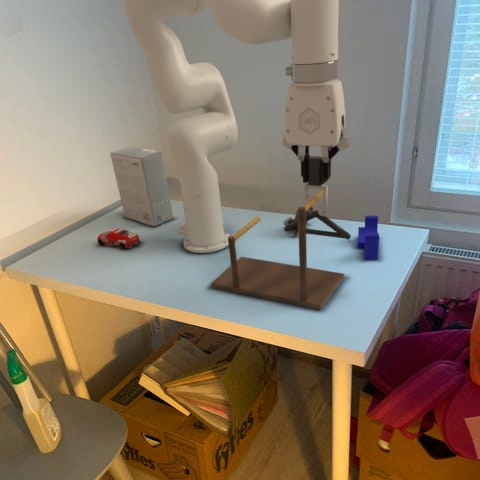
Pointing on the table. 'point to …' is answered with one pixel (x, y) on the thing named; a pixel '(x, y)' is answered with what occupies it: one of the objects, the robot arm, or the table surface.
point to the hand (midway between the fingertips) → (315, 180)
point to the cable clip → (369, 238)
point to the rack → (280, 272)
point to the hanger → (314, 183)
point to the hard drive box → (142, 185)
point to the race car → (118, 238)
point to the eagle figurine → (290, 220)
